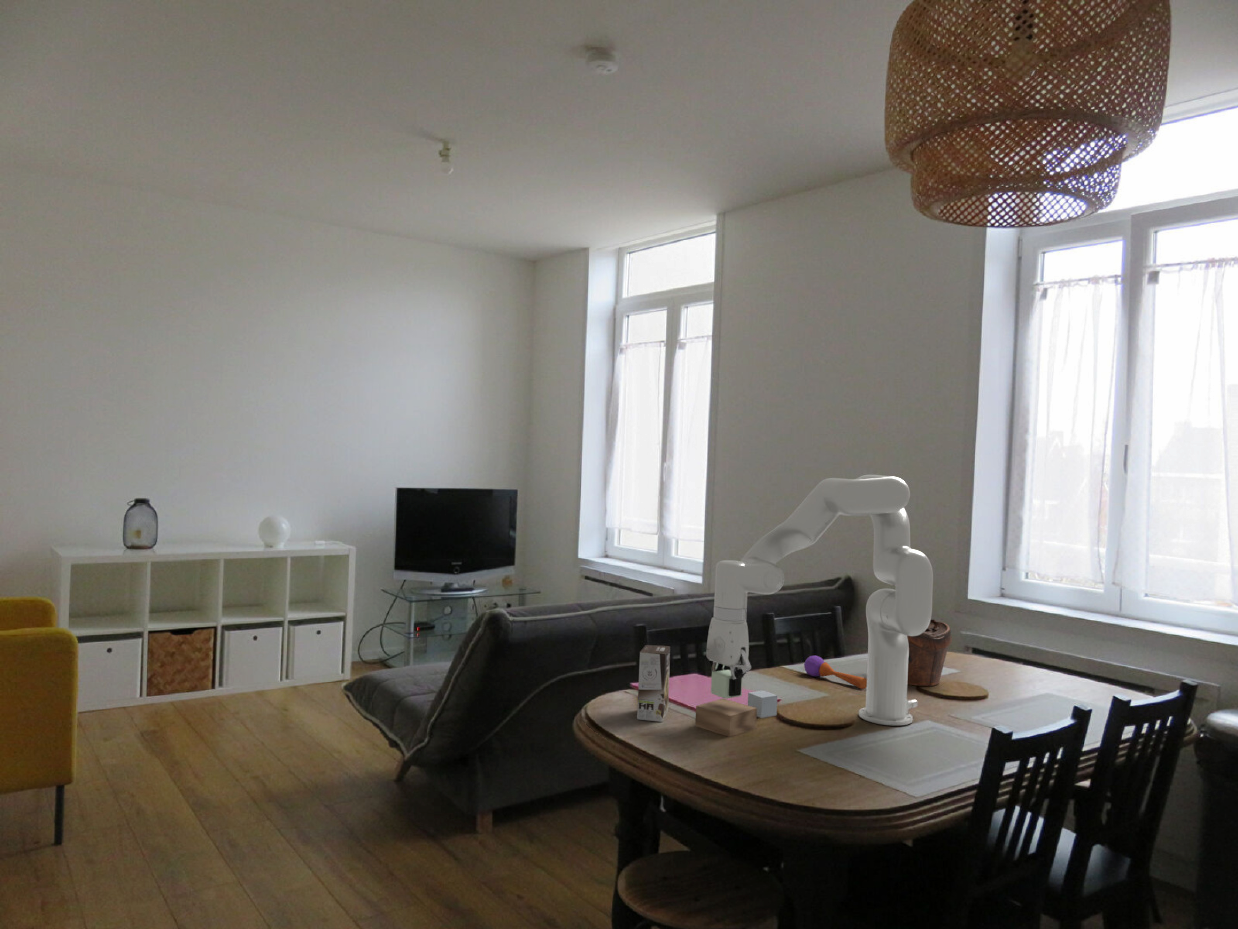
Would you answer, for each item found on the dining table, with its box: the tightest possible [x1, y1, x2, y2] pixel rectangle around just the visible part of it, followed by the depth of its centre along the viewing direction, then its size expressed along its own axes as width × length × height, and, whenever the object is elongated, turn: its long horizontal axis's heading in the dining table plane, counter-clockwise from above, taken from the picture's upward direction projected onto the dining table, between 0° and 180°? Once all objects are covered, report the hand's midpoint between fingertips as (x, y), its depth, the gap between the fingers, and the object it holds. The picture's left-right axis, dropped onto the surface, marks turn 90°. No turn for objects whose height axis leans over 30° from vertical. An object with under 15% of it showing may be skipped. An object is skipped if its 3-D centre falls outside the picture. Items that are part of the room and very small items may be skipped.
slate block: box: [747, 689, 778, 719], centre depth 218 cm, size 5×5×5 cm
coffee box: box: [636, 644, 671, 723], centre depth 213 cm, size 9×6×16 cm
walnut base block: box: [694, 698, 758, 738], centre depth 206 cm, size 10×10×5 cm
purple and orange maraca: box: [803, 655, 867, 690], centre depth 252 cm, size 6×6×20 cm
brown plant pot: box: [907, 619, 953, 687], centre depth 256 cm, size 18×20×18 cm
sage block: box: [710, 669, 743, 700], centre depth 206 cm, size 5×5×5 cm
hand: (726, 691), depth 206 cm, fingers closed on sage block, 4 cm apart
